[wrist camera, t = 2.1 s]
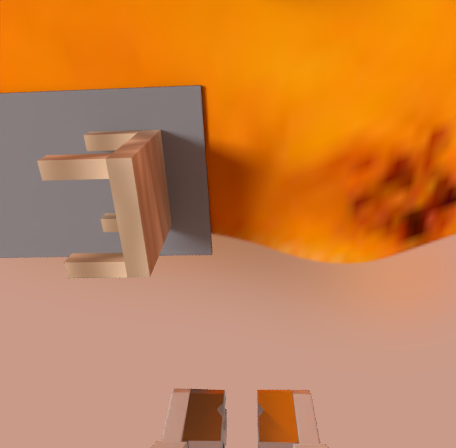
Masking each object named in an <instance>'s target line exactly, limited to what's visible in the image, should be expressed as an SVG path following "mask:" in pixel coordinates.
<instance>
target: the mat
mask: <svg viewBox="0 0 456 448" xmlns="http://www.w3.org/2000/svg"><path fill="white" fill-rule="evenodd" d="M157 129H161V136H162V145H163V154H164V162H165V171H166V179H167V188H168V196H169V205H170V214H171V222H172V225H171V228H170V230H169V233H168V235H167V237H166V240H165V242H164V245H163V247H162V249H161V252H160V254H159V256H166V255H167V256H168V255H212V242H211V226H210V211H209V197H208V182H207V167H206V152H205V138H204V123H203V108H202V94H201V85H195V86H170V87H144V88H119V89H94V90H69V91H44V92H19V93H0V258H14V257H15V258H18V257H69V256H70V255H71V254H72V253H123V251H122V246H121V240H120V235H119V232H103V228H102V223H101V218H102V217H103V216H104V215H105V213H115V208H114V202H113V197H112V192H111V186H110V181H109V179H85V180H46V181H42V177H41V174H40V170H39V166H38V162H37V160H39V159H41V158H43V157H45V156H46V155H69V154H102V153H113V152H114V151H116V150H109V151H87V149H86V145H85V140H84V135H85V134H86V133H88V132H97V131H127V130H157Z"/></svg>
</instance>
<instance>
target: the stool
mask: <svg viewBox="0 0 456 448" xmlns="http://www.w3.org/2000/svg"><path fill="white" fill-rule="evenodd" d="M84 140H85V145H86V149H87V151H109V150H116V151H114V152H113V153H102V154H69V155H46V156H45V157H43V158H41V159H39V160H37V162H38V166H39V170H40V174H41V177H42V181H46V180H85V179H109V181H110V186H111V192H112V197H113V202H114V208H115V213H105V215H104V216H103V217H102V218H101V223H102V228H103V232H119V235H120V240H121V246H122V251H123V253H72V254H71V255H70V256H69V257H68V259H67V260H66V261H65V262H64V264H65V268H66V271H67V275H68V278H117V277H118V278H121V277H122V278H124V277H125V278H126V277H127V278H128V277H150V276H151V273H152V271H153V269H154V266H155V264H156V261H157V259H158V257H159V254H160V252H161V249H162V247H163V245H164V242H165V240H166V237H167V235H168V233H169V230H170V228H171V225H172V222H171V214H170V205H169V196H168V188H167V179H166V171H165V162H164V154H163V145H162V136H161V129H157V130H127V131H97V132H88V133H86V134H85V135H84Z"/></svg>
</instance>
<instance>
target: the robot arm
mask: <svg viewBox="0 0 456 448" xmlns="http://www.w3.org/2000/svg"><path fill="white" fill-rule="evenodd" d="M257 401H258V448H328V446H327V445H326V444H320V439H319V434H318V429H317V423H316V418H315V413H314V407H313V402H312V397H311V393H310V391H309V390H292V391H291V390H258V391H257ZM225 403H226V396H225V390H208V389H206V390H205V389H174V390H173V393H172V395H171V400H170V404H169V409H168V413H167V418H166V423H165V427H164V432H163V437H162V441H156V442H155V443H154V444H153V445H152V447H151V448H225V446H226V437H227V412H226V409H225Z"/></svg>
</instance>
